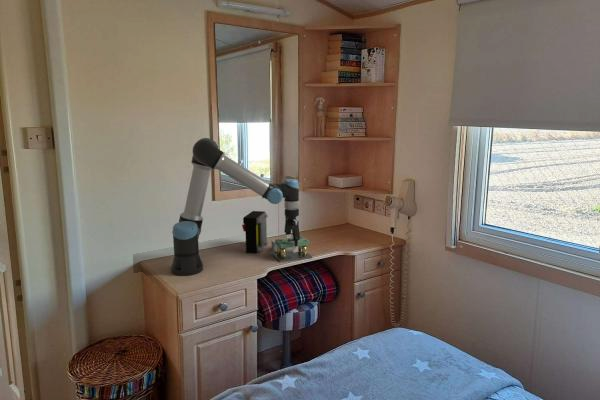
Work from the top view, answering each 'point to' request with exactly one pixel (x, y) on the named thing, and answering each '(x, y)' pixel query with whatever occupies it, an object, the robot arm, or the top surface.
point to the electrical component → (255, 231)
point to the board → (291, 242)
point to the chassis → (291, 254)
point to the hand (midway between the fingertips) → (292, 249)
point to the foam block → (274, 246)
